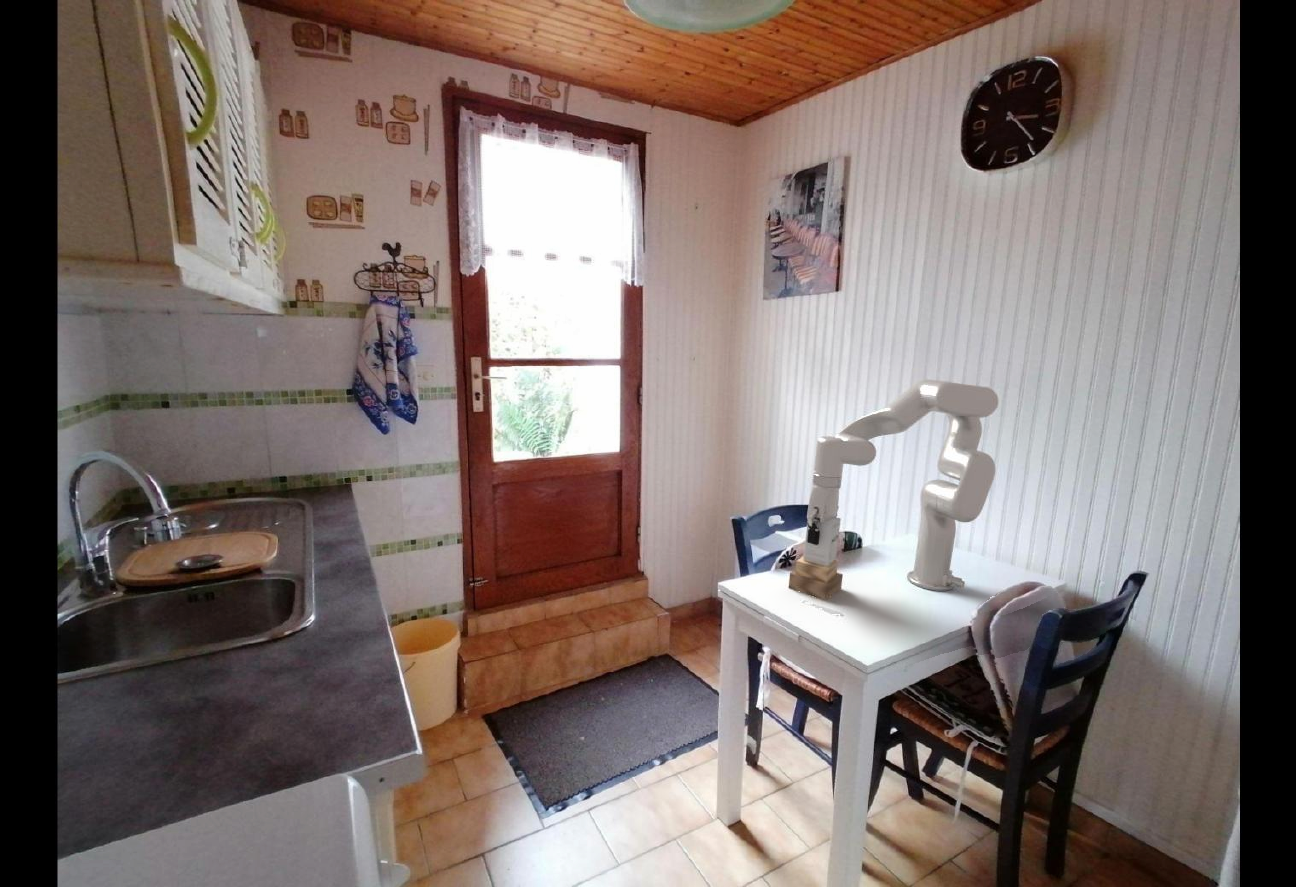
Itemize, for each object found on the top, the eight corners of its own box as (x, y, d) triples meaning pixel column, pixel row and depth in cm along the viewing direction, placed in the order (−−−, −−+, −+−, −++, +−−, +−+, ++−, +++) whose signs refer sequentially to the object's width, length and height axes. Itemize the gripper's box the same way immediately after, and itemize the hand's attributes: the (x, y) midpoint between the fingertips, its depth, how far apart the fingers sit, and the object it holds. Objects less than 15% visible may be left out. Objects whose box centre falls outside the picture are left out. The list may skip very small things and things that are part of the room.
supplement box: (828, 567, 155) (833, 524, 152) (802, 560, 159) (807, 517, 157) (836, 560, 161) (841, 518, 158) (811, 553, 165) (816, 512, 163)
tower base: (840, 590, 162) (842, 574, 161) (824, 602, 154) (826, 585, 153) (805, 578, 169) (807, 563, 168) (788, 589, 161) (789, 573, 160)
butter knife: (840, 617, 144) (845, 614, 146) (759, 587, 160) (765, 584, 162) (840, 619, 144) (844, 615, 146) (759, 588, 160) (764, 585, 162)
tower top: (836, 573, 161) (838, 560, 161) (826, 583, 154) (828, 569, 153) (806, 564, 166) (807, 552, 166) (795, 574, 159) (796, 560, 158)
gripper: (827, 474, 164) (821, 529, 167) (799, 483, 152) (793, 543, 155) (852, 479, 159) (846, 536, 163) (826, 488, 147) (819, 550, 150)
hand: (820, 539), depth 159 cm, fingers open, 9 cm apart
